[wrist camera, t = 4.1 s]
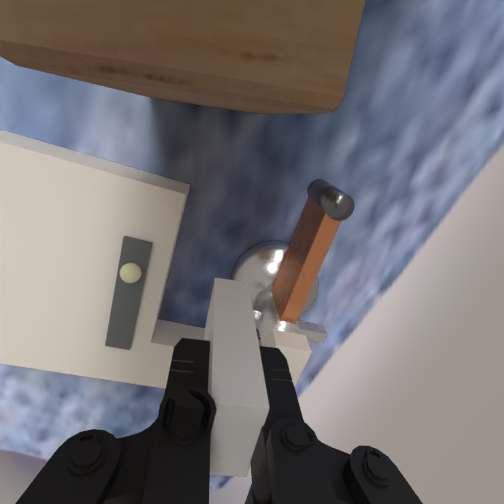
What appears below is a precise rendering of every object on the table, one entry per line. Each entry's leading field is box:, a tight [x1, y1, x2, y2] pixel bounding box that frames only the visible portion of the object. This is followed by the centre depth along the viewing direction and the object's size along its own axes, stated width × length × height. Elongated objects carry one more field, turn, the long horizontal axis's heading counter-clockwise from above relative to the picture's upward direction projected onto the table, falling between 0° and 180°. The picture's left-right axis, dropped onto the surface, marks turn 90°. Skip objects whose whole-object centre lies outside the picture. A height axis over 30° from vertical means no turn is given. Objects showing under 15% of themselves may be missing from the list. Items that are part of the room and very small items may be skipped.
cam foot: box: [232, 179, 354, 346], centre depth 29 cm, size 18×10×9 cm, turn 162°
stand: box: [0, 131, 312, 389], centre depth 28 cm, size 22×33×12 cm, turn 72°
